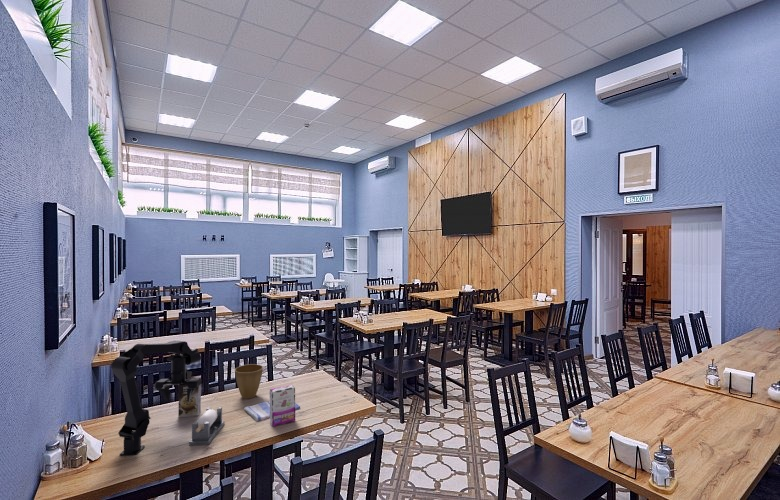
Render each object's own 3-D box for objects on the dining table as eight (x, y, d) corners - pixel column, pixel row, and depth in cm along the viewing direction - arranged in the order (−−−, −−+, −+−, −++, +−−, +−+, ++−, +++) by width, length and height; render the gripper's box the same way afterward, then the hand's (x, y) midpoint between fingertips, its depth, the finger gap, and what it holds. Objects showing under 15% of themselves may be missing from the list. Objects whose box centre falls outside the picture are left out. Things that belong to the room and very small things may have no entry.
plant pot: (228, 399, 205) (228, 370, 205) (248, 389, 219) (248, 362, 219) (249, 403, 199) (249, 373, 199) (268, 393, 213) (268, 365, 213)
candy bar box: (292, 417, 183) (292, 384, 183) (295, 421, 179) (295, 387, 179) (269, 423, 177) (269, 388, 177) (272, 427, 172) (272, 391, 173)
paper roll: (208, 429, 157) (197, 420, 157) (198, 440, 157) (187, 431, 156) (223, 411, 175) (213, 403, 175) (214, 421, 175) (204, 412, 174)
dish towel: (243, 411, 191) (243, 405, 191) (286, 399, 206) (286, 394, 206) (255, 423, 178) (255, 417, 178) (300, 409, 193) (300, 404, 193)
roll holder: (208, 444, 157) (208, 424, 157) (188, 445, 156) (189, 425, 156) (224, 423, 176) (224, 405, 176) (206, 424, 175) (206, 406, 175)
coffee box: (177, 418, 182) (178, 385, 182) (181, 412, 188) (181, 380, 188) (198, 415, 184) (198, 383, 184) (201, 410, 190) (201, 379, 190)
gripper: (206, 362, 181) (206, 394, 181) (167, 363, 179) (166, 395, 179) (196, 369, 170) (196, 404, 169) (154, 370, 168) (153, 405, 168)
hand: (178, 401), depth 172 cm, fingers open, 9 cm apart
